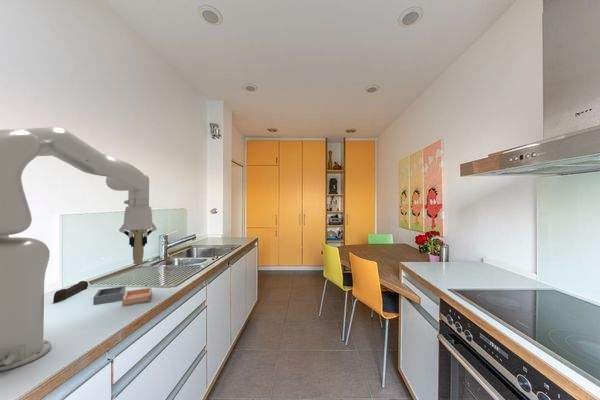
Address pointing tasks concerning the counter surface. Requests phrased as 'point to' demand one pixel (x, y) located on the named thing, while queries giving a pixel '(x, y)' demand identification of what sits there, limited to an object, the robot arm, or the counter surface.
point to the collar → (109, 295)
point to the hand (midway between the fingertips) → (138, 245)
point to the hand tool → (69, 291)
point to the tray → (137, 296)
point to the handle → (138, 246)
